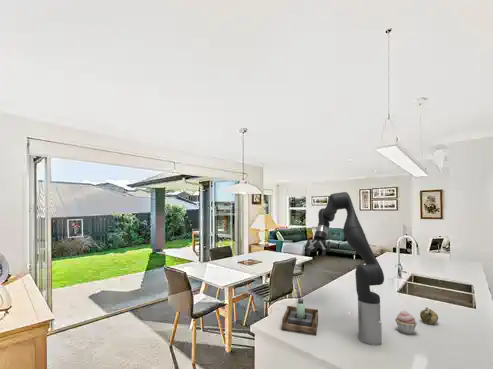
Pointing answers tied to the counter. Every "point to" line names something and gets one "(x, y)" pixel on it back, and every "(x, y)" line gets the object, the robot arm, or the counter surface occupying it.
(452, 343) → the counter surface
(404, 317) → the cupcake
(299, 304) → the mint green cylinder
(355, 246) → the robot arm
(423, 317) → the olive green pumpkin
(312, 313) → the box
